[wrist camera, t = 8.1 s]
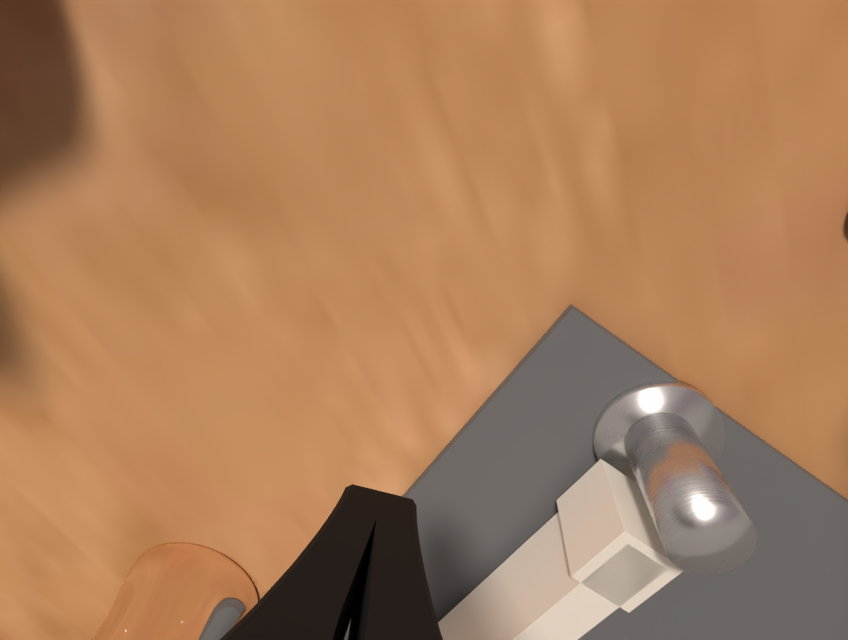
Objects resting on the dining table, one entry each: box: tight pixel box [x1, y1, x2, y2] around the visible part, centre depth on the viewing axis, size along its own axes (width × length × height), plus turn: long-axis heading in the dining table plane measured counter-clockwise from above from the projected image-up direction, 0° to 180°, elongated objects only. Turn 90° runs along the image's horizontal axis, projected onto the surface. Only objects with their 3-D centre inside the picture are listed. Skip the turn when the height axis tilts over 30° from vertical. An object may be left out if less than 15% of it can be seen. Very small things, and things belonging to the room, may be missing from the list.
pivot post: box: [593, 380, 757, 575], centre depth 18 cm, size 4×4×6 cm
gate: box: [438, 459, 683, 640], centre depth 20 cm, size 13×2×4 cm, turn 145°
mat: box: [344, 305, 848, 640], centre depth 24 cm, size 19×21×1 cm
